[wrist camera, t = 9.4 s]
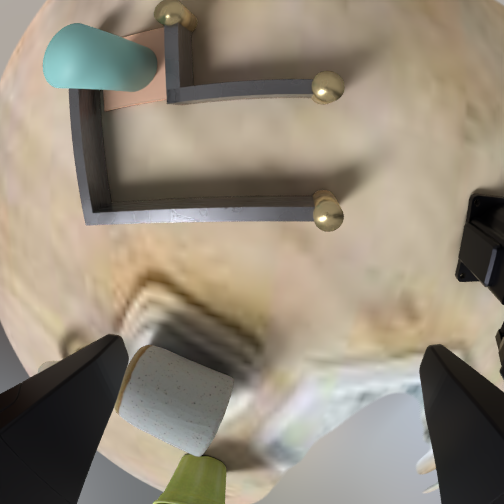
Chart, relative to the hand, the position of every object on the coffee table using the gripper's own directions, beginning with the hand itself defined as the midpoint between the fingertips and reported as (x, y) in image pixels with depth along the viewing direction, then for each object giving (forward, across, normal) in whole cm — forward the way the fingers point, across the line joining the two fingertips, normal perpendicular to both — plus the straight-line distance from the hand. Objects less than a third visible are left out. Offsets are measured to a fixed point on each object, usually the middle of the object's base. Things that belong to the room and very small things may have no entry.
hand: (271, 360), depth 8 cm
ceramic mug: (+13, +9, +15) cm, 22 cm away
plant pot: (+13, +10, +33) cm, 37 cm away
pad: (+12, +9, -10) cm, 19 cm away
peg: (+12, +9, -10) cm, 18 cm away
